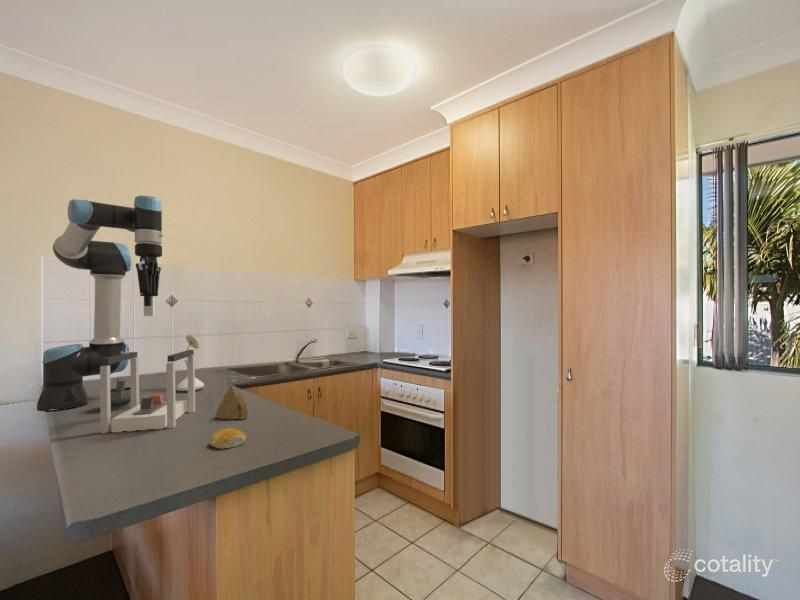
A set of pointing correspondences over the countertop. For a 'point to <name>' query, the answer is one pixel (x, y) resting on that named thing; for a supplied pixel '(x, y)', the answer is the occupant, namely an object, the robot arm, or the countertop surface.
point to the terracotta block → (157, 398)
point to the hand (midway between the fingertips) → (149, 316)
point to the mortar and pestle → (120, 395)
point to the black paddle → (147, 403)
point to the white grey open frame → (136, 416)
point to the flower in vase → (184, 384)
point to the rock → (232, 406)
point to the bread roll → (227, 438)
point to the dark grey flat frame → (134, 354)
